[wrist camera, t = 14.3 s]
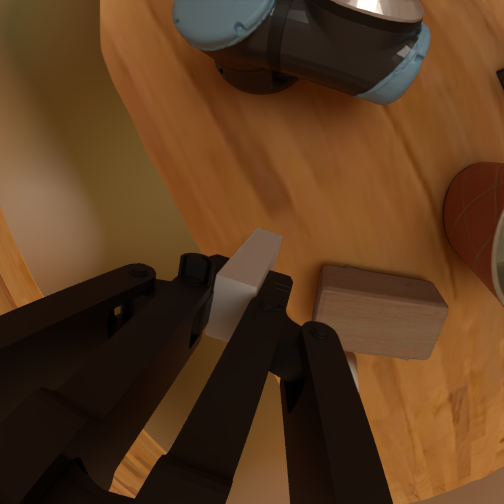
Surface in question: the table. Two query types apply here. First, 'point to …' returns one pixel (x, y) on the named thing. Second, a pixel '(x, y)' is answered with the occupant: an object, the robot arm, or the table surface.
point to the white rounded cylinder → (352, 365)
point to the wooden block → (380, 312)
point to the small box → (501, 76)
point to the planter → (479, 222)
